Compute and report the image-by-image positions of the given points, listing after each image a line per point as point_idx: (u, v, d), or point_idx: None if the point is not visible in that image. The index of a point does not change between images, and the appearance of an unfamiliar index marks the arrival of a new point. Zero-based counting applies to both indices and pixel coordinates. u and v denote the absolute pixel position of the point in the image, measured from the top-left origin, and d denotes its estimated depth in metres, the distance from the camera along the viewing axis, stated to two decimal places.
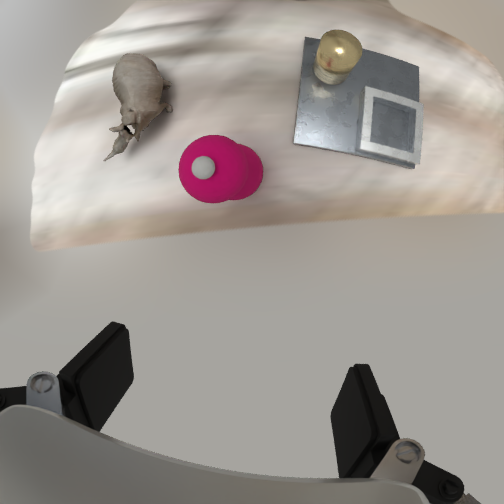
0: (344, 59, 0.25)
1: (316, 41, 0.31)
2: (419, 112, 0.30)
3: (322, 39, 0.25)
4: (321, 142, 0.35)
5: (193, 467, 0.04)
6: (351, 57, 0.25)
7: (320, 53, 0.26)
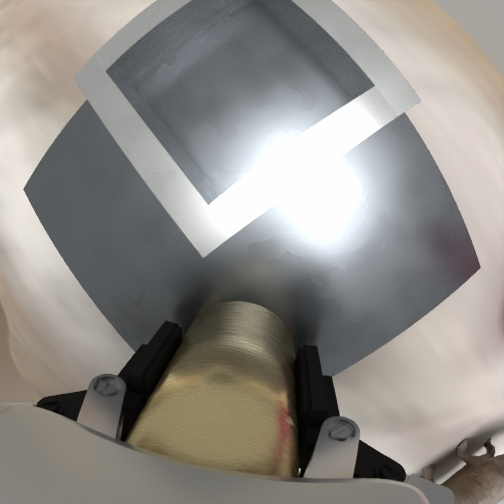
0: None
1: None
2: (105, 57, 0.07)
3: None
4: (447, 212, 0.10)
5: (193, 467, 0.04)
6: None
7: None
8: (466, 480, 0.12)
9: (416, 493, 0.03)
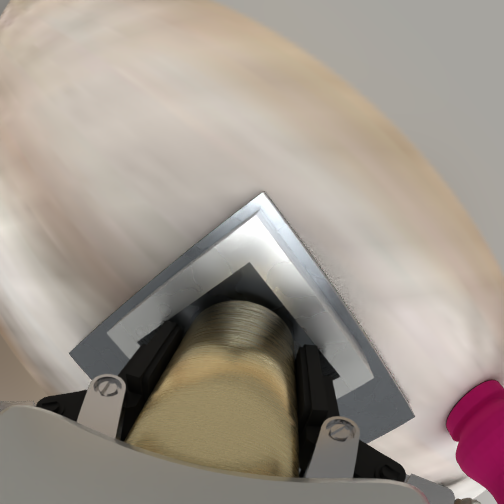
0: None
1: None
2: (132, 329, 0.12)
3: None
4: (390, 396, 0.14)
5: (193, 467, 0.04)
6: None
7: None
8: None
9: (416, 493, 0.03)
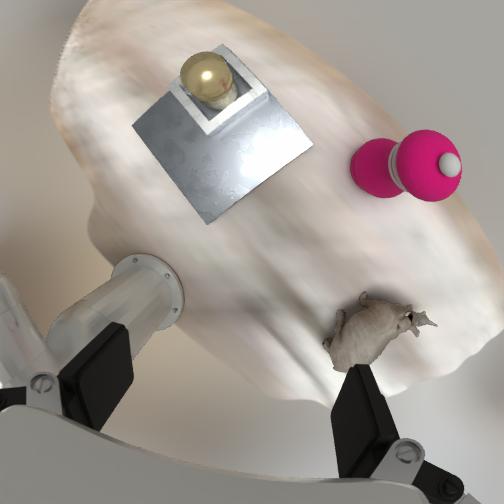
0: (214, 58, 0.24)
1: (202, 212, 0.36)
2: (178, 81, 0.30)
3: (212, 87, 0.25)
4: (291, 124, 0.33)
5: (193, 467, 0.04)
6: (206, 57, 0.24)
7: (225, 83, 0.26)
8: (363, 310, 0.35)
9: (416, 493, 0.03)
